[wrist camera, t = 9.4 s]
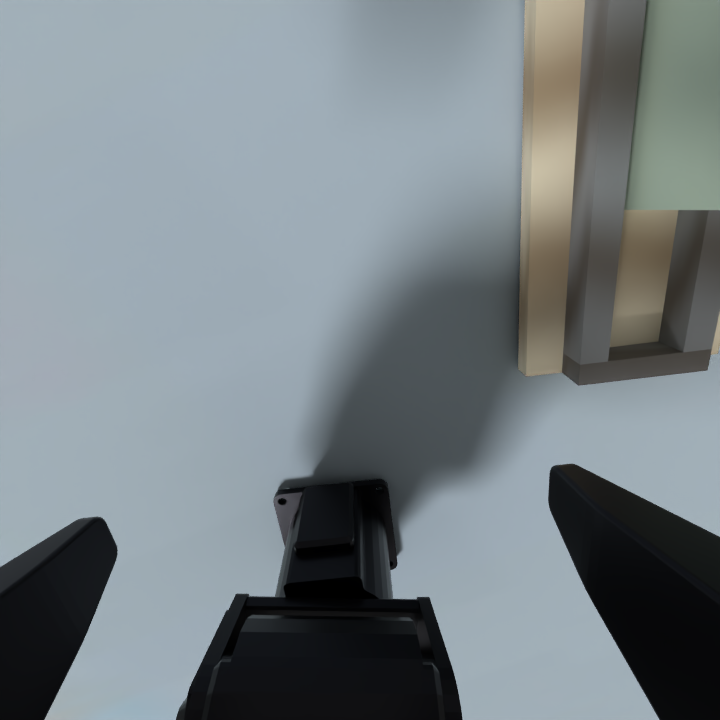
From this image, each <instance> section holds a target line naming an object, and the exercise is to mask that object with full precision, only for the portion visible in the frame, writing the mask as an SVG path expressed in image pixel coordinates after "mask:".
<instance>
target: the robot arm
mask: <svg viewBox="0 0 720 720" xmlns="http://www.w3.org/2000/svg"><path fill="white" fill-rule="evenodd" d="M378 487H381V488H382V489H381V490H377V489H376V488H378ZM280 498H284V499H286V500H285V501H284V500H281V499H280ZM548 502H549V508H550V511H551V513H552V516H553V518H554V520H555V522H556V525H557V527H558V529H559V531H560V534H561V536H562V538H563V540H564V543H565V545H566V547H567V549H568V552H569V554H570V556H571V558H572V561H573V563H574V565H575V567H576V570H577V572H578V574H579V576H580V578H581V581H582V583H583V585H584V587H585V589H586V591H587V593H588V595H589V596H590V598H591V600H592V602H593V604H594V606H595V607H596V609H597V611H598V613H599V614H600V616H601V618H602V620H603V621H604V623H605V625H606V627H607V628H608V630H609V632H610V634H611V635H612V637H613V639H614V641H615V642H616V644H617V646H618V648H619V649H620V651H621V653H622V655H623V656H624V658H625V660H626V662H627V663H628V665H629V667H630V669H631V670H632V672H633V674H634V676H635V677H636V679H637V681H638V683H639V684H640V686H641V688H642V690H643V691H644V693H645V695H646V697H647V698H648V700H649V702H650V704H651V705H652V707H653V709H654V711H655V713H656V714H657V716H658V718H659V720H720V537H719V536H717V535H715V534H713V533H711V532H709V531H707V530H705V529H703V528H701V527H699V526H697V525H695V524H693V523H691V522H689V521H687V520H685V519H683V518H681V517H679V516H677V515H675V514H673V513H671V512H669V511H667V510H665V509H663V508H661V507H659V506H657V505H655V504H653V503H651V502H649V501H647V500H645V499H643V498H641V497H639V496H637V495H635V494H633V493H631V492H629V491H627V490H625V489H623V488H621V487H619V486H617V485H615V484H613V483H611V482H609V481H607V480H605V479H603V478H601V477H599V476H597V475H595V474H593V473H592V472H590V471H588V470H586V469H584V468H582V467H580V466H578V465H575V464H564V465H555V466H553V467H552V468H551V470H550V477H549V495H548ZM274 506H275V510H276V514H277V518H278V522H279V526H280V529H281V533H282V537H283V541H284V545H285V551H284V556H283V560H282V565H281V570H280V575H279V580H278V585H277V589H276V594H275V597H259V596H249V594H236V595H235V597H234V600H233V602H232V604H231V606H230V608H229V610H227V611H226V613H225V615H224V617H223V619H222V621H221V623H220V625H219V627H218V629H217V631H216V633H215V636H214V638H213V640H212V642H211V644H210V646H209V648H208V650H207V652H206V654H205V656H204V659H203V661H202V663H201V665H200V667H199V669H198V671H197V673H196V675H195V677H194V679H193V681H192V684H191V686H190V688H189V692H188V696H187V698H186V699H185V701H184V702H183V704H182V705H181V706H180V708H179V711H178V714H177V718H176V720H462V712H461V706H460V700H459V694H458V689H457V684H456V680H455V676H454V673H453V669H452V666H451V663H450V660H449V657H448V653H447V650H446V647H445V644H444V641H443V638H442V635H441V632H440V629H439V626H438V623H437V620H436V617H435V613H434V610H433V607H432V604H431V601H430V598H429V597H417V599H393V594H392V584H391V573H390V570H392V569H394V568H396V566H397V556H396V548H395V540H394V532H393V524H392V516H391V508H390V500H389V491H388V485H387V482H386V481H384V480H382V479H374V480H365V481H356V482H347V483H338V484H329V485H320V486H311V487H303V488H294V489H285V490H280V491H278V492H276V494H275V497H274ZM116 558H117V546H116V543H115V541H114V539H113V537H112V534H111V532H110V530H109V528H108V526H107V524H106V522H105V520H104V519H103V518H101V517H90V518H82V519H78V520H76V521H74V522H73V523H71V524H70V525H68V526H66V527H65V528H63V529H61V530H60V531H58V532H57V533H55V534H53V535H52V536H50V537H48V538H47V539H45V540H44V541H42V542H40V543H39V544H37V545H35V546H34V547H32V548H31V549H29V550H27V551H26V552H24V553H22V554H21V555H19V556H18V557H16V558H14V559H13V560H11V561H9V562H8V563H6V564H5V565H3V566H1V567H0V720H44V719H45V717H46V715H47V713H48V711H49V709H50V707H51V705H52V703H53V701H54V699H55V697H56V695H57V693H58V691H59V689H60V687H61V685H62V683H63V681H64V679H65V677H66V675H67V673H68V671H69V669H70V667H71V665H72V663H73V661H74V659H75V657H76V655H77V653H78V651H79V649H80V647H81V645H82V643H83V641H84V638H85V636H86V633H87V631H88V629H89V626H90V624H91V621H92V619H93V616H94V614H95V611H96V609H97V606H98V604H99V601H100V599H101V596H102V594H103V591H104V589H105V586H106V584H107V581H108V579H109V576H110V574H111V571H112V569H113V566H114V564H115V561H116ZM389 561H390V562H389Z"/></svg>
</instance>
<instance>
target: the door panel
mask: <svg viewBox="0 0 720 720" xmlns="http://www.w3.org/2000/svg"><path fill="white" fill-rule="evenodd" d="M624 210H720V0H647V1H646V10H645V20H644V29H643V38H642V48H641V57H640V67H639V76H638V85H637V95H636V104H635V113H634V123H633V132H632V142H631V151H630V160H629V170H628V179H627V188H626V198H625V207H624Z"/></svg>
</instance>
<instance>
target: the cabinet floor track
mask: <svg viewBox="0 0 720 720" xmlns="http://www.w3.org/2000/svg"><path fill="white" fill-rule="evenodd" d="M646 1H647V0H525V28H524V81H523V135H522V188H521V242H520V295H519V349H518V369H519V370H520V371H521V372H522V373H523V374H524V375H525V376H526V377H528V376H536V375H544V374H553V373H561V372H562V373H563V374H564V375H566V376H567V377H568V378H570V379H571V380H572V381H573V382H575V383H576V384H577V385H578V386H579V385H587V384H596V383H604V382H613V381H621V380H629V379H638V378H646V377H655V376H663V375H672V374H680V373H689V372H697V371H706V370H708V365H709V360H710V356H711V355H712V354H718V350H719V346H720V210H624V207H625V198H626V188H627V179H628V170H629V160H630V151H631V142H632V132H633V123H634V113H635V104H636V95H637V85H638V76H639V67H640V57H641V48H642V38H643V29H644V20H645V10H646Z"/></svg>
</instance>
